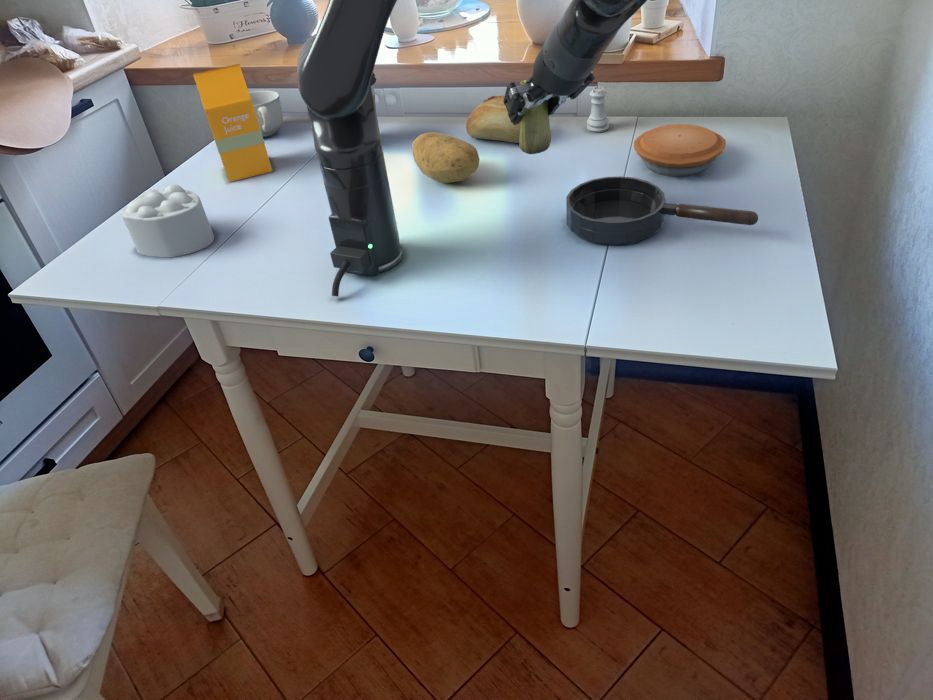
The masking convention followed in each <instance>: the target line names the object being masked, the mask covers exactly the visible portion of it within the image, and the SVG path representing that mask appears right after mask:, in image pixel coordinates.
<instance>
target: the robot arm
mask: <svg viewBox="0 0 933 700" xmlns="http://www.w3.org/2000/svg"><path fill="white" fill-rule="evenodd" d="M647 1H648V0H571V1H570V2H569V4H568V6H567V7H566V9H565V11H564V13H563V14H562V16H561V18H560V19H559V21H558V22H556V24H555V25H553V28H552V30H551V31H550V33H549V34H548V36H547V38H546V40H545V41H544V43H543V44H542V47H541V48H540V50H539V51H538V53H537V55H536V57H535V59H534V62H533V70H532V75H530V76H531V77H530V76H529V77H528V78H527V79H525V80H526V83H525V84H523V85H520V84H519V85H517V84H516V82H515V81H513V82H510V83H508V84H507V85H506V90H505V93H504V96H505V97H504V100H503V102H504V105H505V106H506V109H507V111H508V116H509V118H510V121H511V123H513V125H517V124H519V123H520V121H521V119H522V118H523V117H524V115H525V113H526V112H527V111H528V110H529V109H535V108H536V107H538V106H539V105H540V104H541V103H542V102H543V101H545V100H547V107H548V115H549V116H553V115H554V114H555V112H556V110H558V108H559V107H560V105H563V104H565V103H566V102H567V99H570V100H575V99H577V98H578V97H579V96H580V95H581V93H583V92H584V91H585V89H586V88H587V87H588V86H589V85H590V84H591V83H592V82H593V81H594V80H595V79H596V77H595V74H594V73H593V71H594V69H595V68H596V67H597V65H599V64H598V63H599V62H600V60H601V59H602V57H603V54H604V52H605V51H606V49H607V48H608V47H609V45H610V44H611V43H612V41H613V40H614V39H615V37H616V35H617V34H618V32H619V31H620V29H621V28H622V27H623V26H624V25H625V24H626V23H627V21H628V20H629V19H631V18H632V16H634V15H635V14H636V13H637V12H638V11H639V10H640V8H642V7H643V6H644V5H645V4H646V2H647ZM397 2H398V0H328V3H327V5H326V8H325V11H324V13H323V16H322V18H321V21H320V23H319V26H318V28H317V31H316V33H315V34H313V35H311V36H310V37H309V38H308V39H307V40H306V41H305V42H304V44H303V45H302V46H301V49H300V50H299V51H300V52H299V53H298V57H297V64H296V65H297V66H296V67H297V68H296V83H297V88H298V91H299V94H300V97H301V99H302V100H303V101H304V103H305V104H304V105H306V108H307V112H308V117H309V121H310V127H311V132H312V138H313V143H314V149H315V153H316V157H317V161H318V165H319V169H320V173H321V175H322V176H321V177H322V181H323V185H324V189H325V192H326V197H327V200H328V205H329V209H330V212H331V214H330V215H329V216H328V221H329V225H330V229H331V233H332V238H333V242H334V245H335V248H333V250H332V251H330V254H329V255H330V259H331V262H332V266H333V268H335V269H338V271H337V273H336V275H335V277H334V279H333V282H332V288H331V296H332V297H339V293H340V285H341V282H342V280H343V277H344V275H345V274H346V273H351V274H352V273H353V274H357V275H363V276H370V277H377V276H378V275H379V274H380V273H383V272H386V271H387V270H390V269H392V268H394V267H395V266H397V265H398V264H399V263H400V262H401V260H402V259H403V256H404V252H403V247H402V245H401V241H400V239H401V238H400V235H399V230H398V224H397V218H396V214H395V209H394V203H393V198H392V197H393V196H392V192H391V187H390V182H389V176H388V171H387V165H386V160H385V159H386V158H385V155H384V149H383V143H382V137H381V132H380V125H379V121H378V117H377V110H376V111H375V106H374V100H373V95H372V89H371V84H370V83H371V79H372V74H373V73H374V70H375V65H376V62H377V59H378V56H379V55H378V54H379V51H380V47H381V43H382V41H383V36H384V34H385V31H386V27H387V24H388V22H389V19H390V16H391V14H392V13H393V11H394V8H395V7H396V4H397ZM533 98H534V99H535V101H534V99H533ZM523 99H524V101H525V105H524V106H523V103H522V101H523Z"/></svg>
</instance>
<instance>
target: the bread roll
mask: <svg viewBox="0 0 933 700" xmlns="http://www.w3.org/2000/svg"><path fill="white" fill-rule="evenodd" d="M504 97H505V95H492V96H490V97H487V99H484V100H483V101H482V102H480V103H479V104H478V105H477V106H476V107H475V108H474V109H473V110H472V112H470V114H469V115H468V117H467V120H466V125H465V130H466V133H467V135H468V136H470V137H471V138H473V139H484V140H491V141H500V142H508V143H515V144H520V143H519V137H520V123H521V121H520V123H519V124H517V125H513V123H511V121H510V118H509V116H508V111H507V109H506V106H505V105H504V102H503V100H504Z"/></svg>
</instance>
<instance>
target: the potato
mask: <svg viewBox="0 0 933 700" xmlns="http://www.w3.org/2000/svg"><path fill="white" fill-rule="evenodd" d="M411 151H412V156H413V161H414V163H415V164H416V165H417V167H418V168H419V170H420V172H421V173H422V174H423V175H424V176H426V177H428V178H430V179H431V180H434V181H437V182H440V183H441V184H449V183H451V184H452V183H456V182H461V181H465V180H467V179H469V178H470V177H471V176H472V175H473V174H475V173H476V172H477V170H478V169H479V167H480V161H481V160H480V159H481V158H480V156H479V155H480V154H479V152H478V150H477V148H476V147H475V146H474V145H473V144H471V143H469V142H467V141H465V140H463V139H461V138H459V137H455V136H453V135H448V134H444V133H441V132H434V131H432V132H425V133H421V134H419V135H418V136H417V137H416V138H415V139H414V140H413V142H412V147H411Z"/></svg>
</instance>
